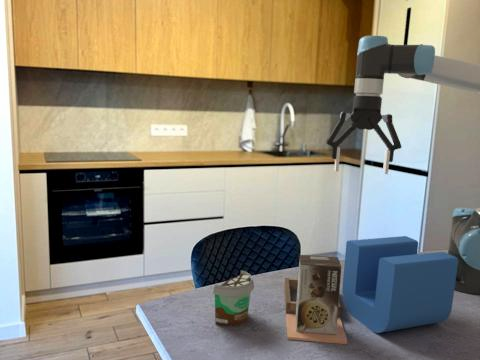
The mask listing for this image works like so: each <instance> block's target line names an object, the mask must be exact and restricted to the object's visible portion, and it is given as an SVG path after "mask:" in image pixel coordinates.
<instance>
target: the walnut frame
mask: <svg viewBox="0 0 480 360" xmlns="http://www.w3.org/2000/svg"><path fill="white" fill-rule="evenodd" d="M297 288H298V278H292V277H284V283H283V290H284V305H285V307H284V308H285V315H286V314H295V315H296V304H297V301H291V291H297ZM340 316H341V304H340V303H339V305H338V318H340V319H341V317H340Z"/></svg>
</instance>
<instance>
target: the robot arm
mask: <svg viewBox="0 0 480 360" xmlns="http://www.w3.org/2000/svg"><path fill="white" fill-rule="evenodd" d="M388 39H389V38H388V37H387V36H384V35H365V36H362V37H361V38H360V39H359V41H358V47H357V53H356V54H357V55H356V66H355V67H356V68H355V80H354V87H353V89H354V90H353V94H355V95H354V96H353V99H352V100H353V101H352V111H351V113H349V112H345V111H341V112H340V115H339V119H338V121H337V123H336V124H335V126H334V128H333V129H332V131H331V132H330V134H329V136H328V138H327V139H326V141H325V143H326V145H328V146H331V149H332V150H331V159H332V160H334V166H333V167H334V168H333V169H334V172H339V166H340V156H341V155H340V154H341V148H340V147H339V146H340V145H341V144H342V143H343V142H344V141H345V140H346V139H347V138H348V137H349V135H351V134H352V133H353V132H354V131H356V129H358V130H362V131H363V130H368V131H371V130H373V131H374V132H375V133H376V134H377V135H378V137H379V138H380V140H381V141H382V142H383V143H384V145H385V146H386V148H387V149H384V155H383V156H384V157H383V167H382V173H383V174H384V175H389V174H388V173H389V167H390V166H389V165H390V163H393V161H394V152H395V150H400V149H402V144H401V141H400V139H399V136H398V134H397V130H396V129H395V125H394V123H393V115H392V114H389V113H388V114H382V103H383V102H382V100H383V98H382V96H383V92H384V80H385V74H391V75H392V74H393V75H398V76H399V77H401V78H404V79H412V80H413V79H414V80H418V81H423V82H427V83H430V84H436V85H440V86H445V87H449V88H453V89H457V90H460V91H461V90H462V91H467V92H471V93H473V94H479V95H480V64H477V63H472V62H468V61H464V60H458V59H454V58H449V57H444V56H440V55H436V48H435V46H434V45H430V44H422V43H421V44H420V43H419V44H391V43H390V44H389V41H388ZM381 95H382V96H381ZM349 118H350V120H351V121H352V123H351V124H350V125H349V126H348V128H346V129H345V131H343V132H342V134H340V135H339V136H338V138H337V139H336V137H337V135H338V134H339V132H340V130H341V129H342V127H343V125H344V123H345V122H346V121H348V119H349ZM381 121H383V122H384V123H385V124H386V128H387V131H388V132H389V133H388V134H389V135H390V138H391V139H392V142H391V141H390V139H389V137H388V136H387V135H386V134H385V132H384V131H383V129H382V128H381V126H380V125H379V124H380V122H381ZM335 139H336V140H335ZM451 218H452V219H451V220H452V221H451V228H450V233H449V234H450V236H449V241H448V243H449V244H448V252H447V253H448V254H450V255H452V256H455V257H457V258H458V267H457V274H456V281H455V288H454V291H458V292H463V293H466V294H468V293H469V294H474V295H480V207H477V208H471V207H470V208H469V207H456V208H454V210H453V213H452V217H451Z"/></svg>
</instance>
